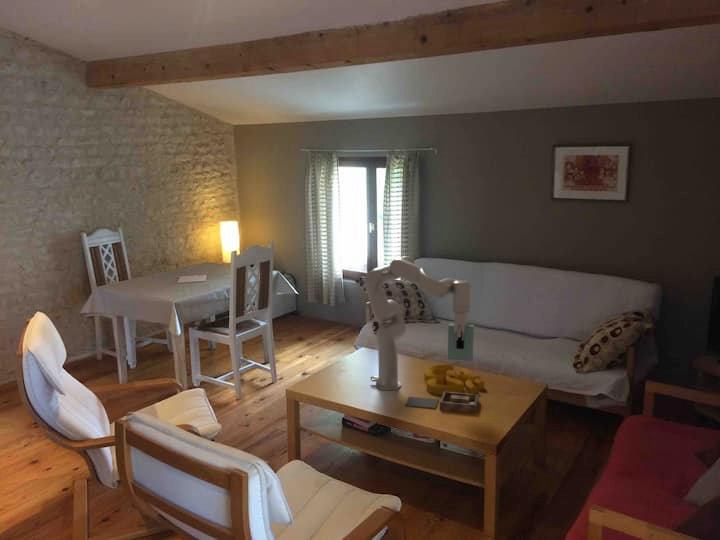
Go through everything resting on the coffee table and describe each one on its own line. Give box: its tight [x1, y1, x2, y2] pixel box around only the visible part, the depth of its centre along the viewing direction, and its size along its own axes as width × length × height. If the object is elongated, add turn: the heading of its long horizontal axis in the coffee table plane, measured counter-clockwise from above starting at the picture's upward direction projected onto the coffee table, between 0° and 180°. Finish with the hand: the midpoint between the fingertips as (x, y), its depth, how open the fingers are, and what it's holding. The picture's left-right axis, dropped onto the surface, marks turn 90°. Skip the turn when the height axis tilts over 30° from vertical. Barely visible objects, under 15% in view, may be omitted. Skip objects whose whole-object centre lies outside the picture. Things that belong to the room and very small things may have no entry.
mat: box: [404, 395, 440, 410], centre depth 282 cm, size 14×10×1 cm
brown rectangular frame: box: [439, 391, 479, 414], centre depth 278 cm, size 16×13×4 cm
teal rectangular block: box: [447, 323, 475, 362], centre depth 276 cm, size 11×3×16 cm, turn 74°
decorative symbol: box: [423, 364, 485, 396], centre depth 304 cm, size 30×5×30 cm
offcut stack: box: [449, 395, 474, 404], centre depth 276 cm, size 11×4×5 cm, turn 74°
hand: (460, 346), depth 277 cm, fingers closed on teal rectangular block, 3 cm apart
